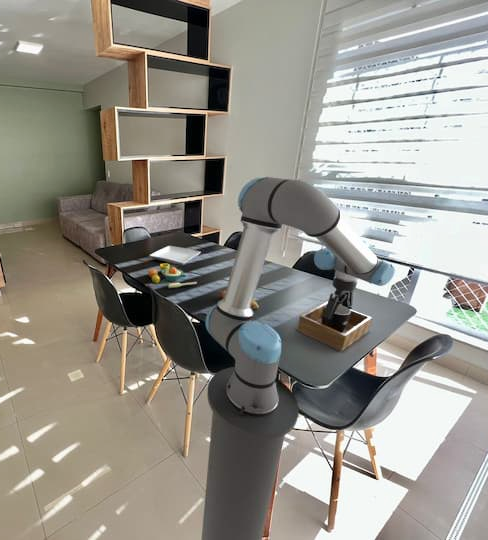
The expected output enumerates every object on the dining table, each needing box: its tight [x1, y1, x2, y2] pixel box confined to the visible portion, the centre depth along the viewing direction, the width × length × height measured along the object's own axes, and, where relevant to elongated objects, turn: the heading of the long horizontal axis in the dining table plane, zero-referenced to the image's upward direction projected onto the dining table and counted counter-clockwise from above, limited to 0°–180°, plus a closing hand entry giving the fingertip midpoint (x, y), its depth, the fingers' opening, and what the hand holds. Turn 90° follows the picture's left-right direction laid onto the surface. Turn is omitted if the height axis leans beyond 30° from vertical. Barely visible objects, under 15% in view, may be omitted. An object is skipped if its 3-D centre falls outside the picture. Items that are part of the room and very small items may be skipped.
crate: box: [296, 300, 373, 352], centre depth 116 cm, size 22×17×7 cm
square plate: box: [149, 245, 202, 266], centre depth 202 cm, size 27×27×4 cm
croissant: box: [218, 290, 259, 310], centre depth 139 cm, size 21×10×8 cm, turn 45°
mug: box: [322, 304, 351, 333], centre depth 115 cm, size 12×9×10 cm
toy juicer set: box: [148, 262, 198, 289], centre depth 164 cm, size 29×18×8 cm, turn 36°
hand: (333, 327), depth 117 cm, fingers closed on mug, 12 cm apart
